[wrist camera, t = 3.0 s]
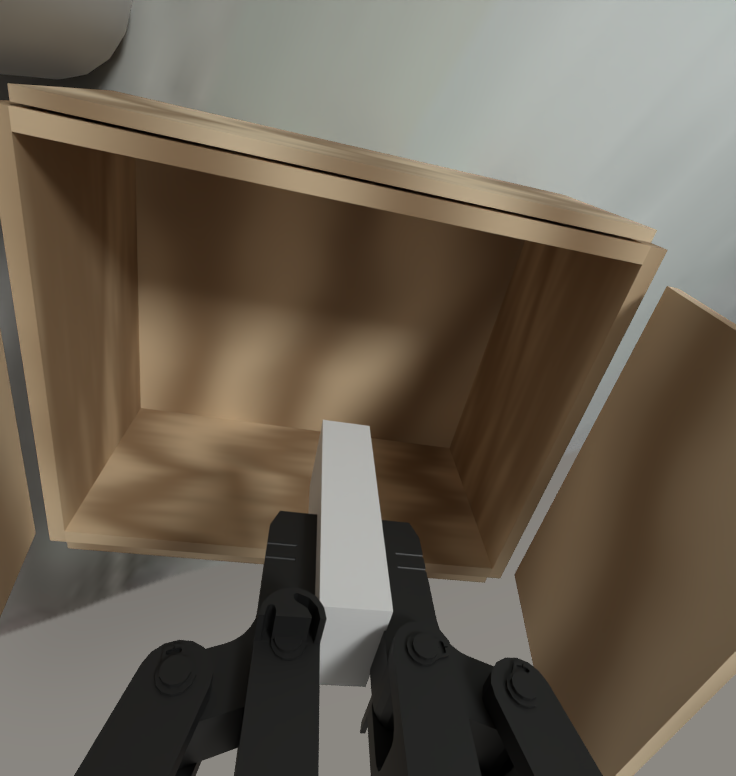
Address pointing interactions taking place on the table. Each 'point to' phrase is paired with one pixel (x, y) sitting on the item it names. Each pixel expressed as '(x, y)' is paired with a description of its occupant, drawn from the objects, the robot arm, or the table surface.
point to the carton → (293, 327)
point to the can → (59, 36)
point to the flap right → (644, 546)
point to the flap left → (11, 492)
